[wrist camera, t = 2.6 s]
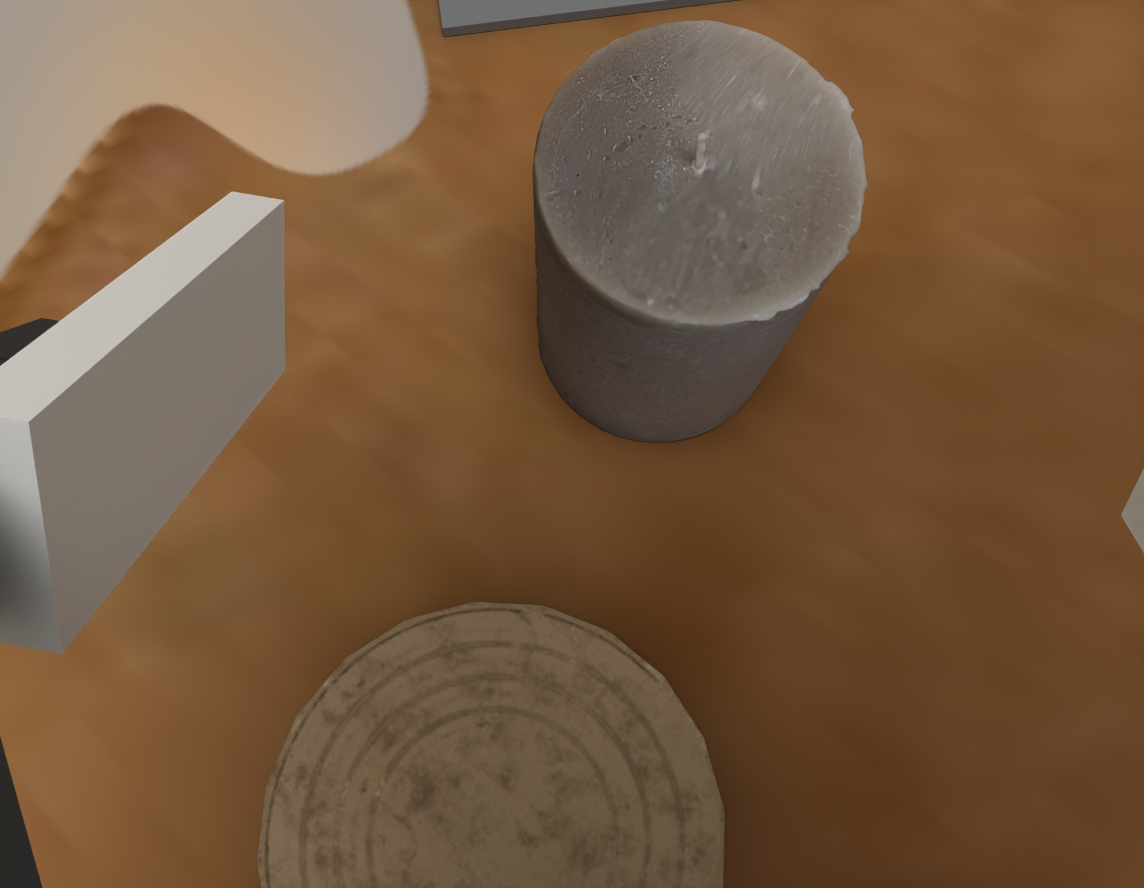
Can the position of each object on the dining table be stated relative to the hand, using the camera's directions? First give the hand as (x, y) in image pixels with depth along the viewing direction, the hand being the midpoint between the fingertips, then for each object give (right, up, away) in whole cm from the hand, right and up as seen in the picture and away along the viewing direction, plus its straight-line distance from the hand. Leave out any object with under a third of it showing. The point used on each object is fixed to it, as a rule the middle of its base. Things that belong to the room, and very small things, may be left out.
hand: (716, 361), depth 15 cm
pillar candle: (+1, +3, +28) cm, 28 cm away
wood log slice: (-5, -15, +23) cm, 28 cm away
